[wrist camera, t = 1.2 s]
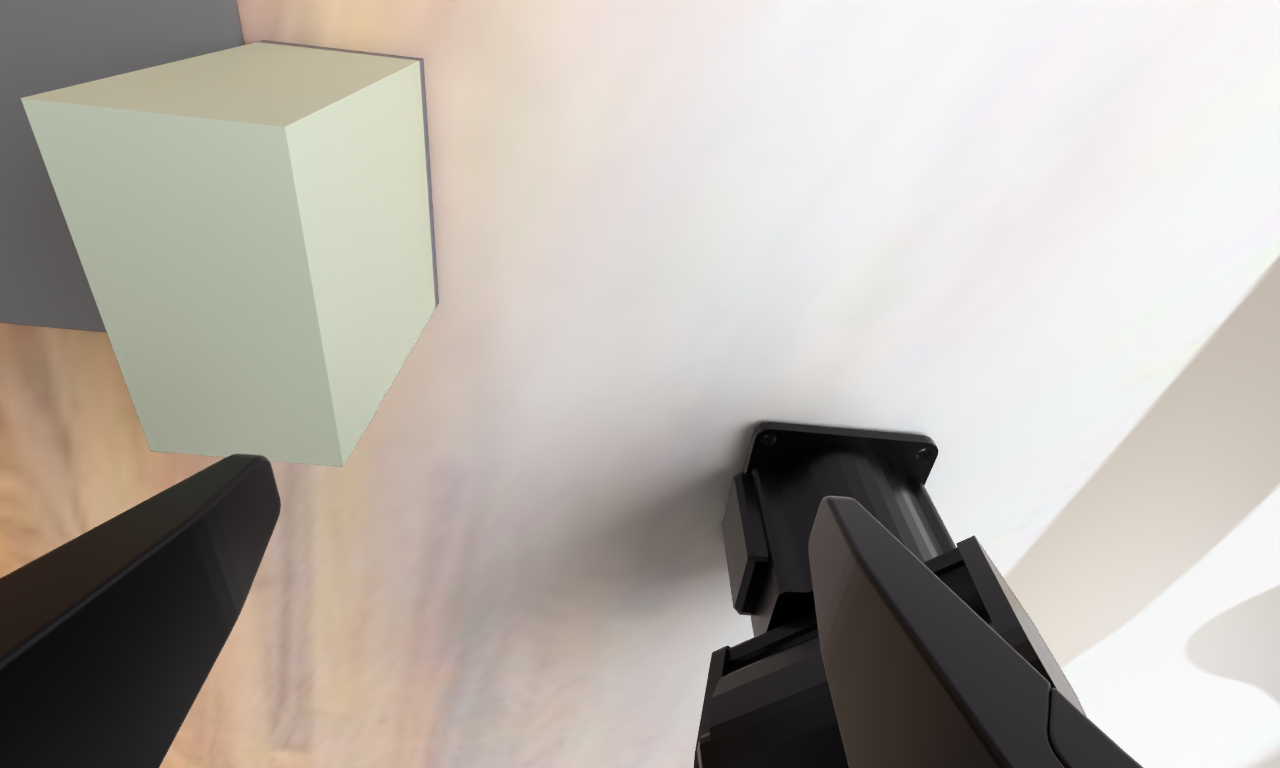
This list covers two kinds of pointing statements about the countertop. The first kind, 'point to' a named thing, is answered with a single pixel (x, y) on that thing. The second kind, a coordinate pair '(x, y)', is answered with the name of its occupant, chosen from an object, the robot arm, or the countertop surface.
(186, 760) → the countertop surface
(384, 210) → the sage block
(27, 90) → the mat
